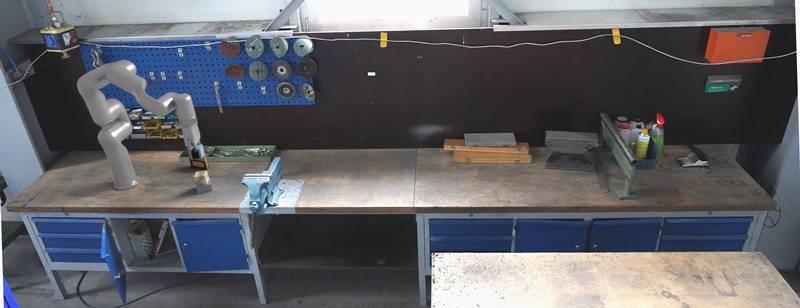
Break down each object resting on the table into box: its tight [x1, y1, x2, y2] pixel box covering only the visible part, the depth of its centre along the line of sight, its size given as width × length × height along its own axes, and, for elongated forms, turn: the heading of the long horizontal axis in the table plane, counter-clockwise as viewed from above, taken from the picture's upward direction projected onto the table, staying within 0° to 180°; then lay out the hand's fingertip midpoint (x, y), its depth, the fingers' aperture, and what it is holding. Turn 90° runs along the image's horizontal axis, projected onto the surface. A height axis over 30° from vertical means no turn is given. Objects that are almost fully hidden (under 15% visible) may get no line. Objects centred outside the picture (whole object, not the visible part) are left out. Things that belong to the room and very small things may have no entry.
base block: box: [194, 177, 213, 195], centre depth 268 cm, size 7×7×4 cm
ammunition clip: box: [187, 146, 210, 171], centre depth 285 cm, size 11×2×12 cm, turn 68°
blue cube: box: [188, 143, 206, 160], centre depth 259 cm, size 5×5×5 cm
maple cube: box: [193, 170, 210, 187], centre depth 266 cm, size 5×5×5 cm
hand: (197, 155), depth 260 cm, fingers closed on blue cube, 5 cm apart
